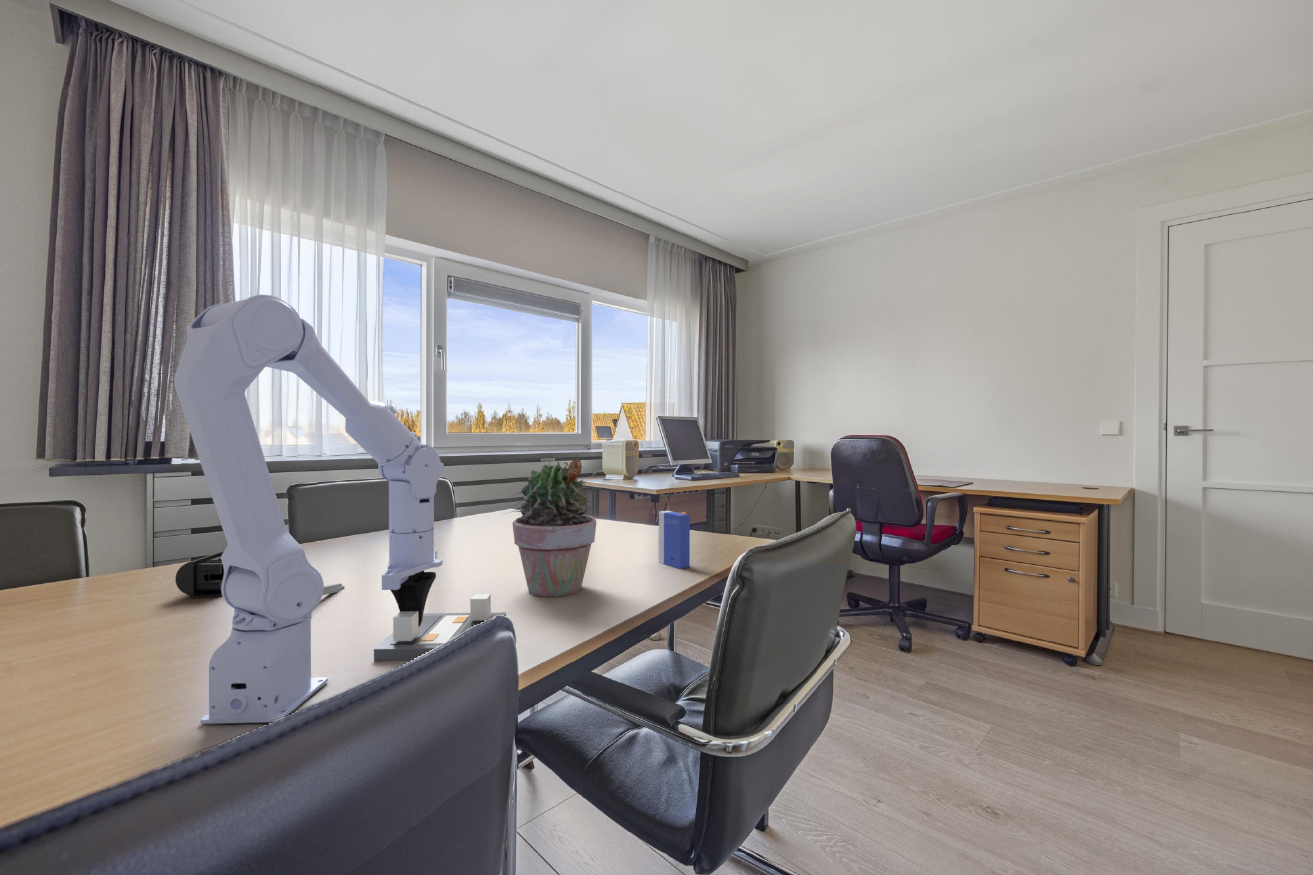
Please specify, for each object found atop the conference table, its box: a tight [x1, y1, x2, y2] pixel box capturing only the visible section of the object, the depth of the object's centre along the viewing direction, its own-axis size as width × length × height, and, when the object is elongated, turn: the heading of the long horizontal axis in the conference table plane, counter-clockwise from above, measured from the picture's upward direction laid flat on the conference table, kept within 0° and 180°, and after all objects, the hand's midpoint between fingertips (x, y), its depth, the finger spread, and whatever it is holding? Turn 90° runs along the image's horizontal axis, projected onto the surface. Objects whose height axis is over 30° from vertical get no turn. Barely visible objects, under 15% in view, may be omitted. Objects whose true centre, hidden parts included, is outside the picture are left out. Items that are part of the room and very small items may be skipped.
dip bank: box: [373, 611, 507, 662], centre depth 79 cm, size 14×14×2 cm
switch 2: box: [469, 593, 492, 621], centre depth 83 cm, size 2×2×3 cm
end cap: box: [174, 549, 225, 599], centre depth 103 cm, size 10×7×7 cm
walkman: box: [658, 510, 691, 570], centre depth 124 cm, size 8×3×12 cm, turn 37°
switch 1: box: [392, 611, 418, 641], centre depth 75 cm, size 2×2×3 cm
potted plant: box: [502, 458, 605, 598], centre depth 105 cm, size 18×20×25 cm
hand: (412, 626), depth 77 cm, fingers closed
